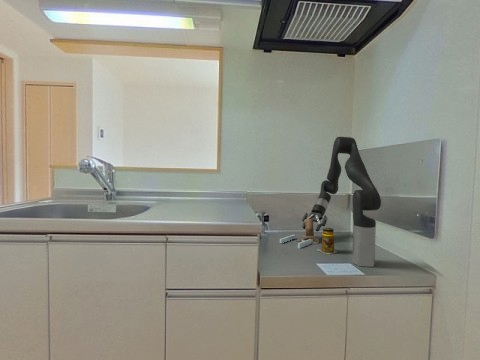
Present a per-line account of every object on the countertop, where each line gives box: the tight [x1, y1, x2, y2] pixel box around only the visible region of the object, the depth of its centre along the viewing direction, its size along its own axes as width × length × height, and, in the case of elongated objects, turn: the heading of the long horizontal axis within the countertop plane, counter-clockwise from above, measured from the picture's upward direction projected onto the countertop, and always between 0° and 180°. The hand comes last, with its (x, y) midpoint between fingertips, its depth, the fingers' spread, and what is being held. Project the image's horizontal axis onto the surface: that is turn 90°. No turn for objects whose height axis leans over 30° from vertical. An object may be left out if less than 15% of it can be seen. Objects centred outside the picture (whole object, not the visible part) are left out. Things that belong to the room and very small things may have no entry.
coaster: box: [301, 238, 320, 245], centre depth 158 cm, size 10×10×1 cm
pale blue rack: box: [279, 234, 313, 249], centre depth 155 cm, size 14×13×2 cm
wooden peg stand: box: [301, 219, 319, 239], centre depth 159 cm, size 9×9×11 cm
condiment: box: [316, 227, 338, 255], centre depth 140 cm, size 7×8×12 cm
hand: (309, 229), depth 158 cm, fingers open, 8 cm apart
